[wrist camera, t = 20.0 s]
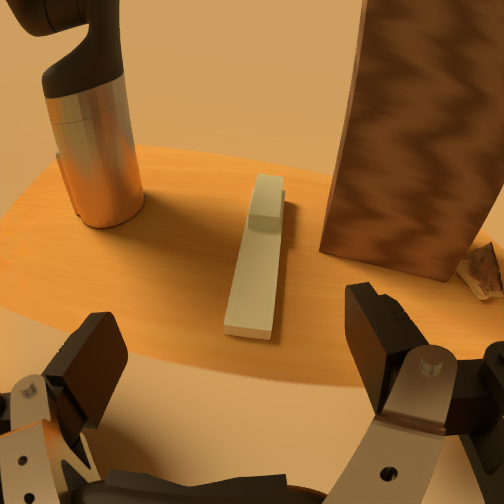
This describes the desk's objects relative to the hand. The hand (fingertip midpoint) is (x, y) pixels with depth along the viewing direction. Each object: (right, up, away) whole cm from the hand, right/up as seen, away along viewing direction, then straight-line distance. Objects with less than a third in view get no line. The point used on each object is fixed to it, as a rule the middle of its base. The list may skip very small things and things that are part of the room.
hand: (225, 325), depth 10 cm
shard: (+30, 0, +23) cm, 38 cm away
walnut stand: (+17, +4, +26) cm, 31 cm away
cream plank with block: (+2, +2, +23) cm, 24 cm away
